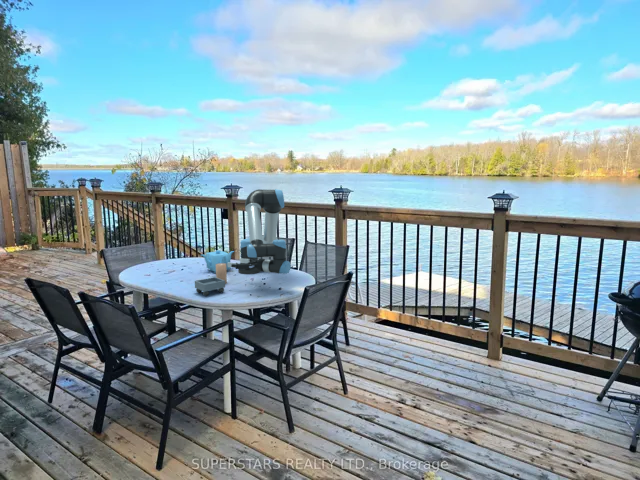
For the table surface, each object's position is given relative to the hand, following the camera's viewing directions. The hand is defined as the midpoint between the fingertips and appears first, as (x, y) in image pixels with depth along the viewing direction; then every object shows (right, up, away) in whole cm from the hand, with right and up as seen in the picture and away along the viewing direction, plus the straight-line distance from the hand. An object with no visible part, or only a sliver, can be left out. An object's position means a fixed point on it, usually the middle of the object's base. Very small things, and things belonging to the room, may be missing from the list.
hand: (234, 262), depth 240 cm
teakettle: (-18, -8, +36) cm, 42 cm away
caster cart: (-11, -16, -14) cm, 24 cm away
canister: (-9, -13, +6) cm, 17 cm away
